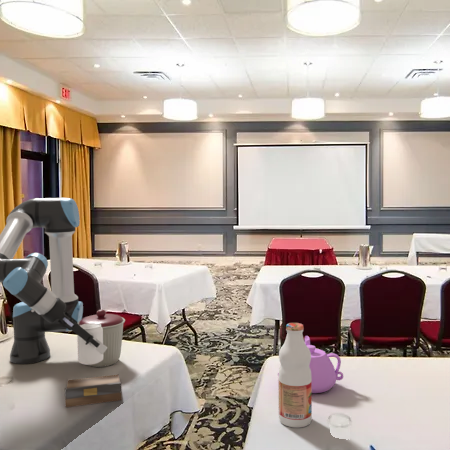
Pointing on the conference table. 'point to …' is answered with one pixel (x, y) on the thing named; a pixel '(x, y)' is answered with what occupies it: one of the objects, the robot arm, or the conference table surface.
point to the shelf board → (93, 390)
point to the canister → (108, 335)
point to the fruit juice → (295, 379)
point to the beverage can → (89, 352)
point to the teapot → (322, 369)
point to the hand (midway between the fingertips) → (101, 348)
